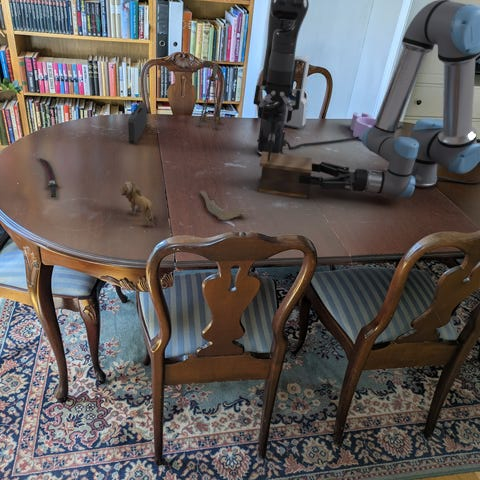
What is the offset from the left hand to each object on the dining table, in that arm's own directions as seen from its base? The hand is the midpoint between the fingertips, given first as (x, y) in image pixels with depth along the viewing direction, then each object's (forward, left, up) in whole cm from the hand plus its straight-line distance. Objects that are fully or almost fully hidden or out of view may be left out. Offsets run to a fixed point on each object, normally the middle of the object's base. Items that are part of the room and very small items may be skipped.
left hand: (274, 119), depth 149 cm
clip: (-75, -24, -23) cm, 82 cm away
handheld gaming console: (+21, -59, -23) cm, 67 cm away
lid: (-4, +4, -14) cm, 15 cm away
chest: (-5, +4, -23) cm, 24 cm away
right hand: (-8, +7, -16) cm, 20 cm away
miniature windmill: (-13, -59, -23) cm, 65 cm away
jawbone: (+21, +7, -23) cm, 32 cm away
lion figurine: (+47, +2, -23) cm, 53 cm away
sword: (+64, -33, -23) cm, 76 cm away
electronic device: (-49, -46, -23) cm, 71 cm away
